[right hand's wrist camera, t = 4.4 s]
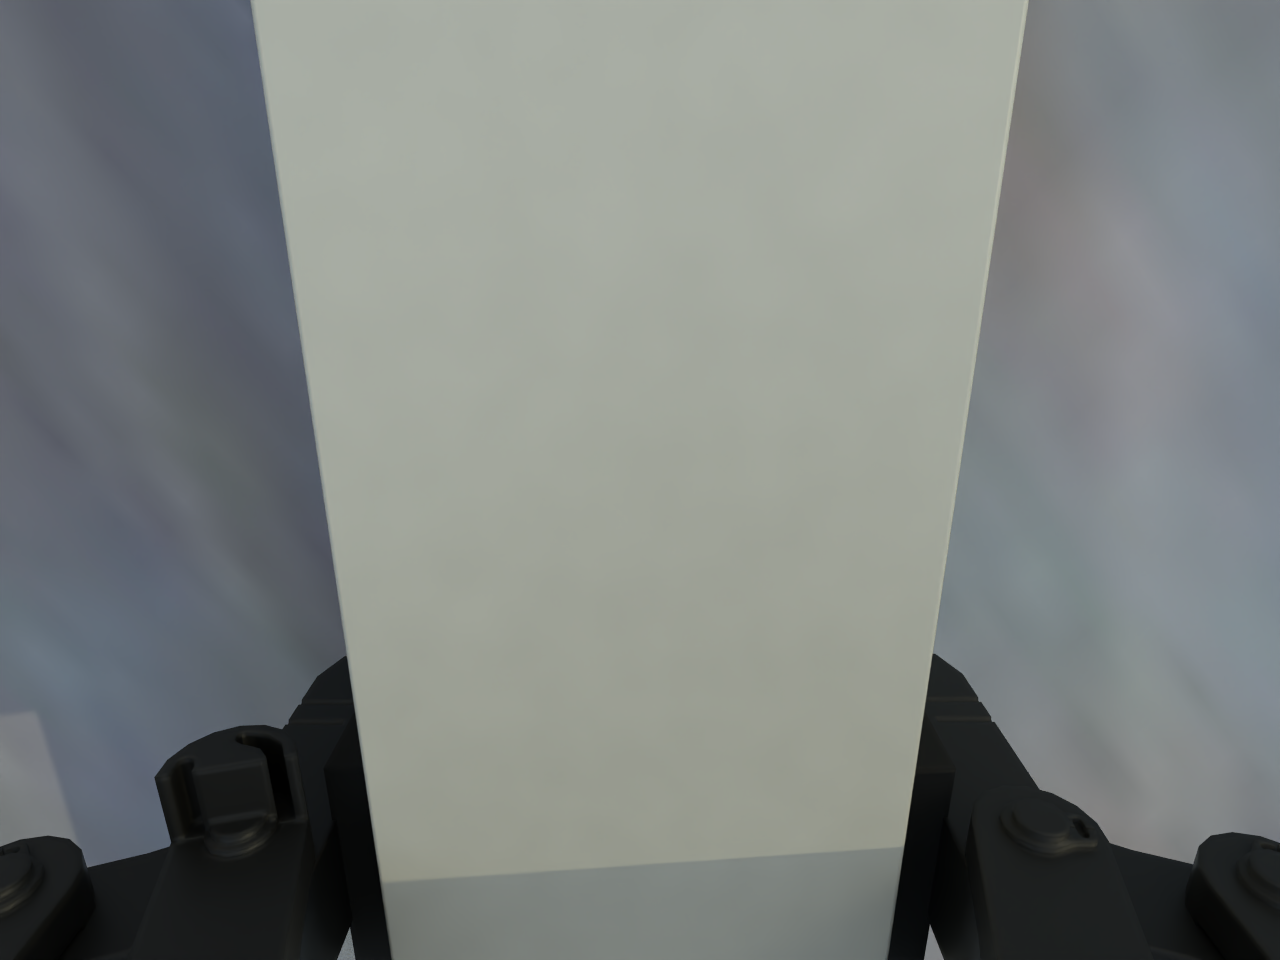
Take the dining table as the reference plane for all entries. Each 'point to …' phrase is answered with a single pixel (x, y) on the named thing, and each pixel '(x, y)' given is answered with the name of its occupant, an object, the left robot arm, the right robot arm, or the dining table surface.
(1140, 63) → the dining table surface
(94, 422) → the dining table surface
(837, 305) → the bar
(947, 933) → the right robot arm
